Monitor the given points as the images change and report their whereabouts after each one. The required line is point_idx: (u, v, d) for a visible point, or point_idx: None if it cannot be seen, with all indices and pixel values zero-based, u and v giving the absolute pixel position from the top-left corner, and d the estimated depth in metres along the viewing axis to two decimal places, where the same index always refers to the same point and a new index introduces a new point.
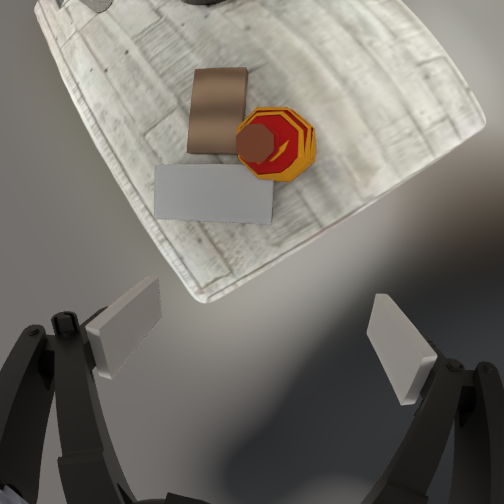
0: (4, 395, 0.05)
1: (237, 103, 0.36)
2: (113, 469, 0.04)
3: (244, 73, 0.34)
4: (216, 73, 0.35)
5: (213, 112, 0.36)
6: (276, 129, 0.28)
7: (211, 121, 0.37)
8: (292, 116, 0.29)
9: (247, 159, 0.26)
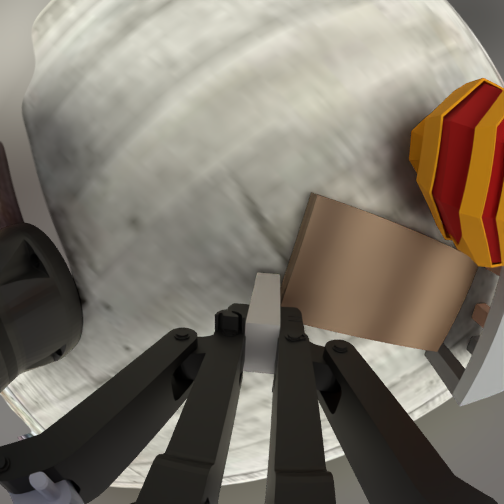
0: (113, 398, 0.06)
1: (402, 241, 0.15)
2: (212, 482, 0.04)
3: (334, 203, 0.15)
4: (310, 271, 0.16)
5: (402, 295, 0.16)
6: None
7: (414, 303, 0.16)
8: None
9: None
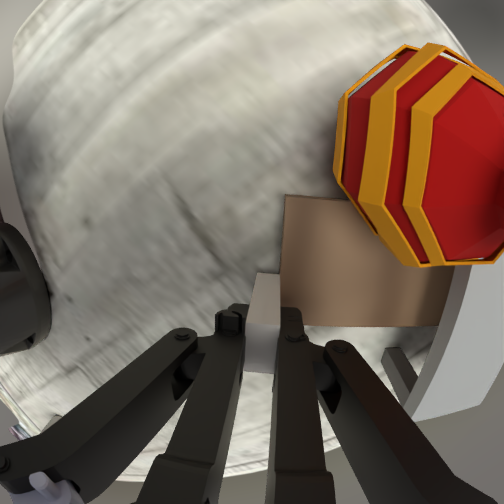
0: (113, 398, 0.06)
1: None
2: (212, 482, 0.04)
3: (305, 201, 0.15)
4: (297, 272, 0.16)
5: (399, 276, 0.16)
6: (489, 143, 0.05)
7: (415, 281, 0.16)
8: (407, 84, 0.07)
9: None
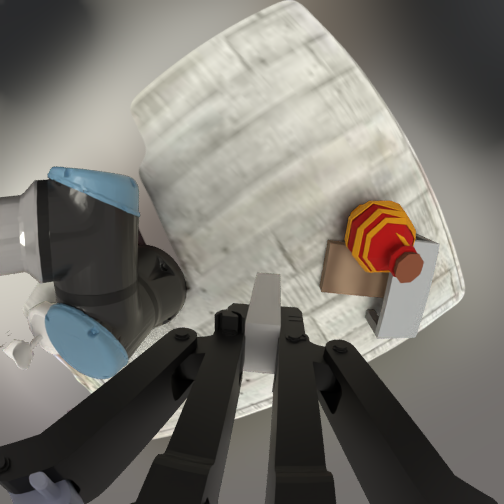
0: (113, 398, 0.06)
1: None
2: (212, 482, 0.04)
3: (337, 245, 0.40)
4: (331, 271, 0.42)
5: (371, 275, 0.41)
6: (386, 243, 0.30)
7: (377, 277, 0.41)
8: (368, 224, 0.32)
9: (418, 273, 0.28)
